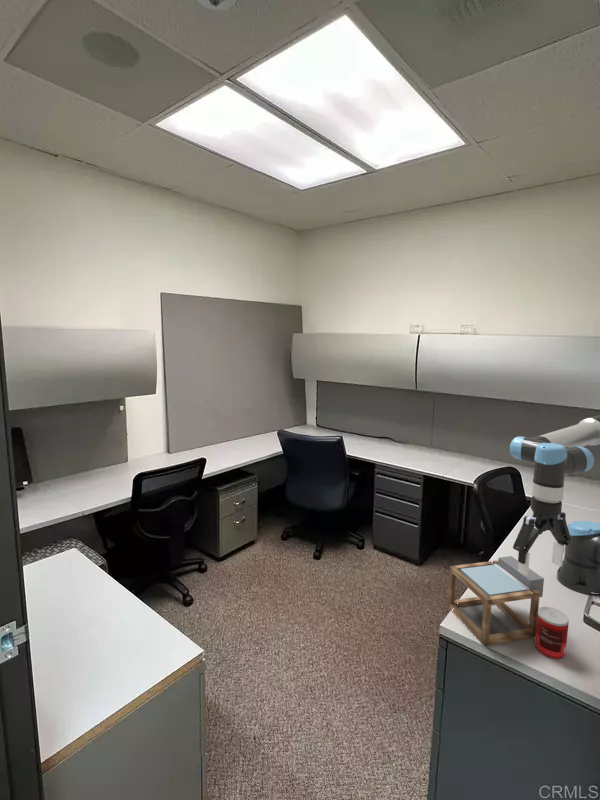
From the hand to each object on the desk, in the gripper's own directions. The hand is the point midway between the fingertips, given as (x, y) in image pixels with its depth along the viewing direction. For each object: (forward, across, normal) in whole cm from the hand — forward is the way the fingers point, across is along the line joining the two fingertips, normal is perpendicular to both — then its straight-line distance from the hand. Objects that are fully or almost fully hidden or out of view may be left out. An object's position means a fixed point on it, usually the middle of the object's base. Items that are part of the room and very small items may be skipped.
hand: (540, 568), depth 121 cm
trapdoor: (+13, +1, -12) cm, 17 cm away
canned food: (+24, -2, +4) cm, 24 cm away
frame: (+24, +4, -13) cm, 27 cm away
